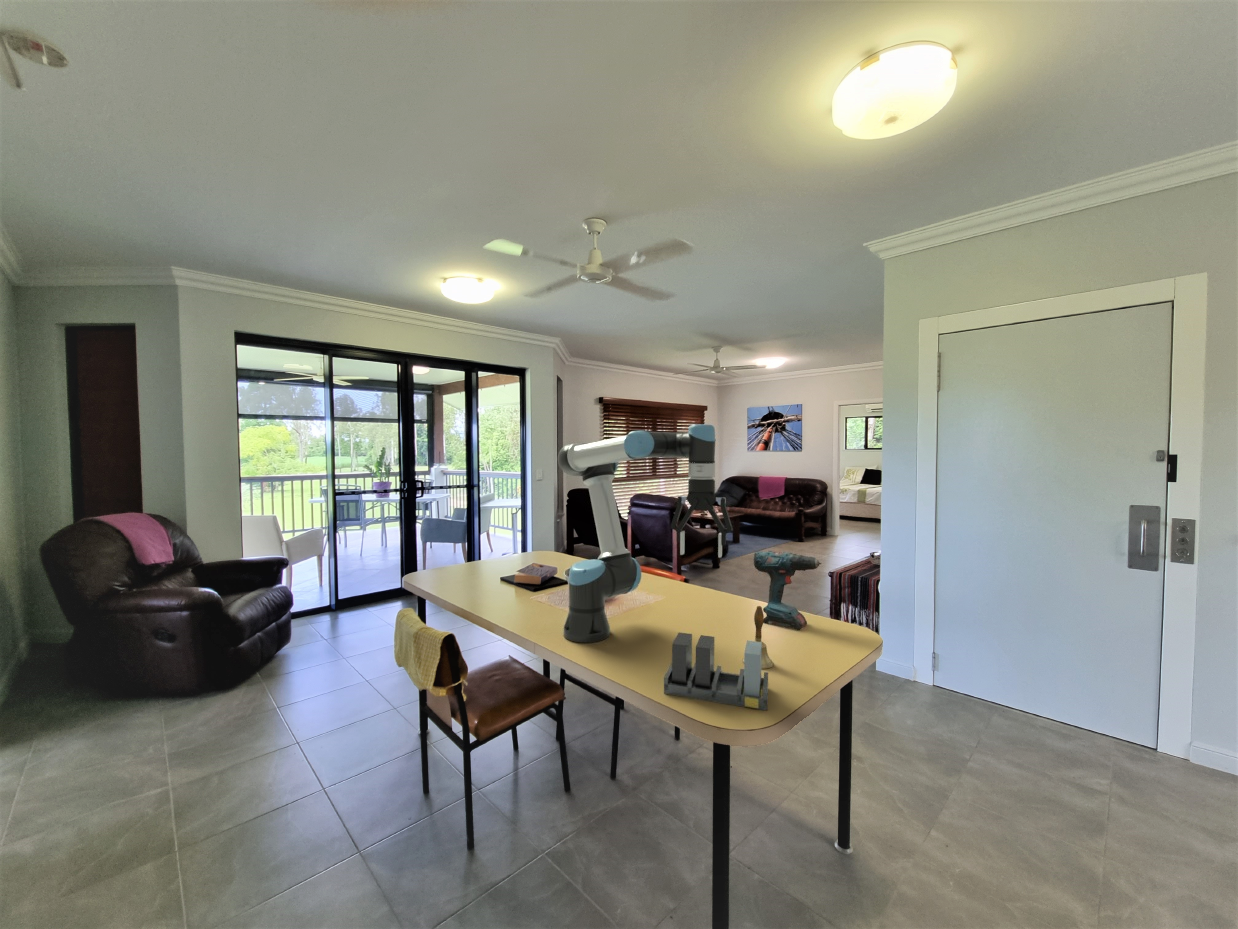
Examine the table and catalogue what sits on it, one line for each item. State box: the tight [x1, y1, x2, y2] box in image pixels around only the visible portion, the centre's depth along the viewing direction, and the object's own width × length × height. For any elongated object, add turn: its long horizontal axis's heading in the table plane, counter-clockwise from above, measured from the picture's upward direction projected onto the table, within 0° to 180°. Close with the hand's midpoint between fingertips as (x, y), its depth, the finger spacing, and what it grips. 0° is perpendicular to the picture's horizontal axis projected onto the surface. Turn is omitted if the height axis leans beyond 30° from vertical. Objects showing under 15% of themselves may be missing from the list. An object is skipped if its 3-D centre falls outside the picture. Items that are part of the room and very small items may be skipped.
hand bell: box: [742, 605, 774, 670], centre depth 136 cm, size 8×8×16 cm
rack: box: [663, 631, 769, 711], centre depth 119 cm, size 24×12×12 cm, turn 71°
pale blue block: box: [743, 640, 763, 697], centre depth 116 cm, size 4×8×11 cm, turn 161°
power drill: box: [753, 550, 822, 631], centre depth 167 cm, size 9×23×25 cm, turn 53°
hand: (701, 555), depth 138 cm, fingers open, 10 cm apart
